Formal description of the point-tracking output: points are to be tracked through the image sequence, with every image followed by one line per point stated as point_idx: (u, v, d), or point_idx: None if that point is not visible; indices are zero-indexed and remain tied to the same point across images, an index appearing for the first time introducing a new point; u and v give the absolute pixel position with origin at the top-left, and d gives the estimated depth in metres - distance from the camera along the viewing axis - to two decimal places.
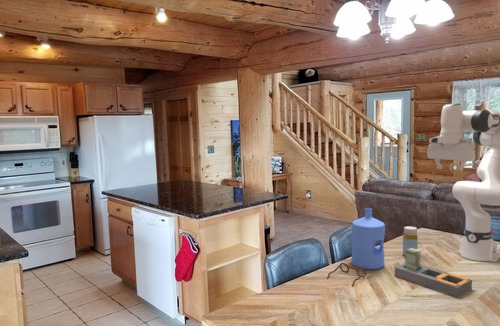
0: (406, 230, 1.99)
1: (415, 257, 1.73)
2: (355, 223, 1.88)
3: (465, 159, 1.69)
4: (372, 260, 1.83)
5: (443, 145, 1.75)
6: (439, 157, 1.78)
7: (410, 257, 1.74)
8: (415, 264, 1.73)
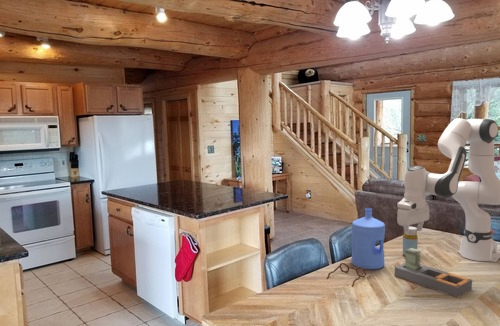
0: None
1: (415, 257, 1.73)
2: (355, 223, 1.88)
3: (426, 219, 1.77)
4: (372, 260, 1.83)
5: (416, 209, 1.70)
6: (412, 222, 1.70)
7: (410, 257, 1.74)
8: (415, 264, 1.73)
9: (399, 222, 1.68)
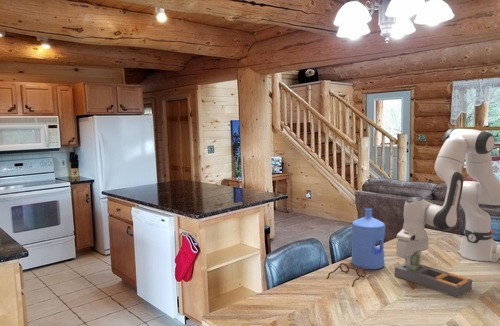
0: None
1: (415, 257, 1.73)
2: (355, 223, 1.88)
3: (425, 248, 1.78)
4: (372, 260, 1.83)
5: (415, 241, 1.72)
6: (411, 253, 1.71)
7: None
8: (415, 264, 1.73)
9: (398, 253, 1.70)
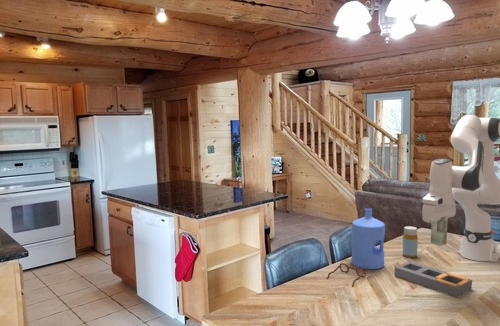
0: (406, 230, 1.99)
1: (442, 223, 1.61)
2: (355, 223, 1.88)
3: (452, 215, 1.67)
4: (372, 260, 1.83)
5: (442, 205, 1.60)
6: (438, 219, 1.60)
7: None
8: (441, 230, 1.62)
9: (424, 218, 1.59)
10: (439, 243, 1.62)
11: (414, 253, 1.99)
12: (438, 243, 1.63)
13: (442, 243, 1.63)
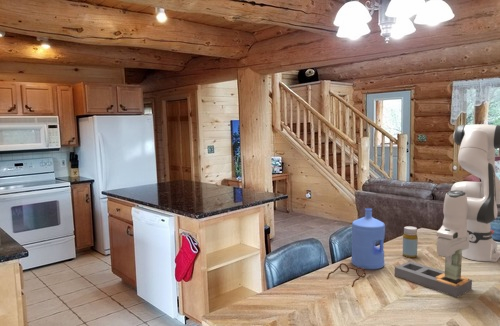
0: (406, 230, 1.99)
1: (457, 257, 1.58)
2: (355, 223, 1.88)
3: (466, 247, 1.63)
4: (372, 260, 1.83)
5: (457, 238, 1.56)
6: (453, 253, 1.56)
7: None
8: (456, 264, 1.58)
9: (439, 253, 1.55)
10: (454, 277, 1.59)
11: (414, 253, 1.99)
12: (453, 277, 1.59)
13: (457, 277, 1.59)
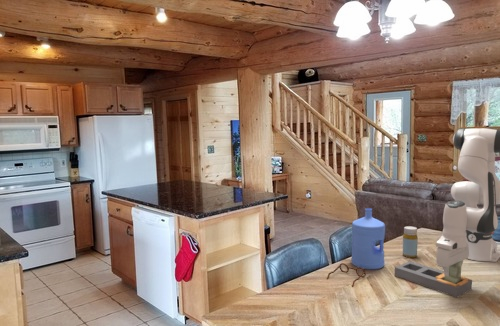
0: (406, 230, 1.99)
1: (456, 269, 1.58)
2: (355, 223, 1.88)
3: (466, 257, 1.64)
4: (372, 260, 1.83)
5: (457, 249, 1.57)
6: (452, 263, 1.57)
7: (450, 269, 1.60)
8: (456, 276, 1.58)
9: (438, 263, 1.55)
10: None
11: (414, 253, 1.99)
12: None
13: None
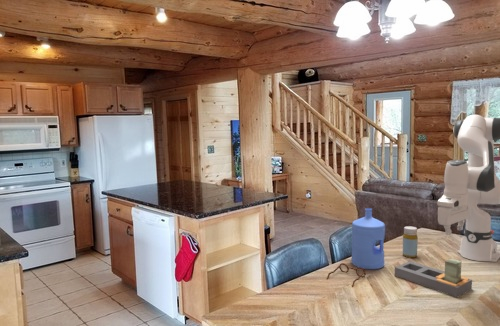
0: (406, 230, 1.99)
1: (456, 269, 1.58)
2: (355, 223, 1.88)
3: (467, 217, 1.63)
4: (372, 260, 1.83)
5: (458, 207, 1.56)
6: (454, 221, 1.56)
7: (450, 269, 1.60)
8: (456, 276, 1.58)
9: (440, 221, 1.54)
10: None
11: (414, 253, 1.99)
12: None
13: None
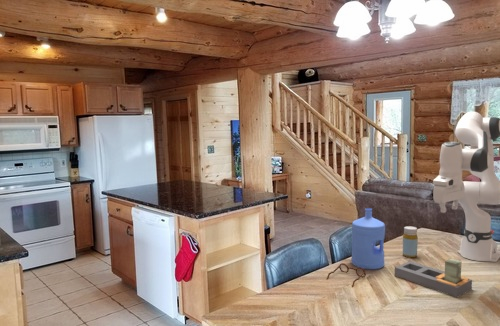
0: (406, 230, 1.99)
1: (456, 269, 1.58)
2: (355, 223, 1.88)
3: (462, 197, 1.71)
4: (372, 260, 1.83)
5: (453, 186, 1.64)
6: (449, 200, 1.64)
7: (450, 269, 1.60)
8: (456, 276, 1.58)
9: (435, 199, 1.63)
10: None
11: (414, 253, 1.99)
12: None
13: None
